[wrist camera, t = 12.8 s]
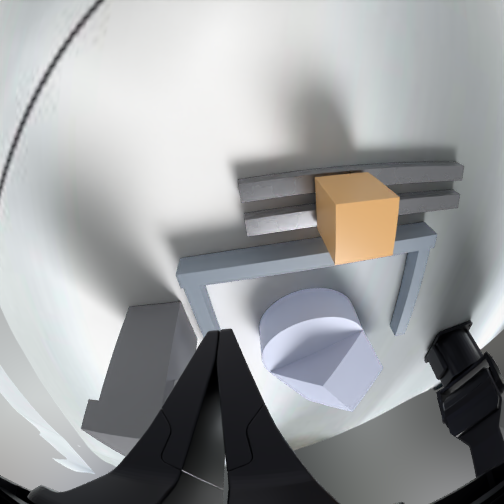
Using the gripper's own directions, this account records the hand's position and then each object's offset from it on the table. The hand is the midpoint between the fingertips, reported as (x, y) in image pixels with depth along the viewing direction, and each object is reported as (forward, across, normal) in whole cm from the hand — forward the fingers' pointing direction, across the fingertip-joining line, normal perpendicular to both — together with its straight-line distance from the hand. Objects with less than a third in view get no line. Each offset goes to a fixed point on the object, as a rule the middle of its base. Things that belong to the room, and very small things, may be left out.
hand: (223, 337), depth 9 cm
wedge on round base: (+11, -6, +14) cm, 19 cm away
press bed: (+11, -2, +9) cm, 14 cm away
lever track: (+10, -9, 0) cm, 14 cm away
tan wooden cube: (+10, -7, 0) cm, 13 cm away
